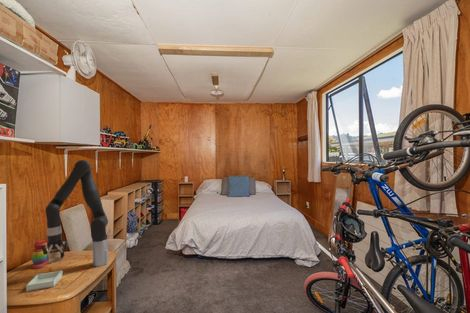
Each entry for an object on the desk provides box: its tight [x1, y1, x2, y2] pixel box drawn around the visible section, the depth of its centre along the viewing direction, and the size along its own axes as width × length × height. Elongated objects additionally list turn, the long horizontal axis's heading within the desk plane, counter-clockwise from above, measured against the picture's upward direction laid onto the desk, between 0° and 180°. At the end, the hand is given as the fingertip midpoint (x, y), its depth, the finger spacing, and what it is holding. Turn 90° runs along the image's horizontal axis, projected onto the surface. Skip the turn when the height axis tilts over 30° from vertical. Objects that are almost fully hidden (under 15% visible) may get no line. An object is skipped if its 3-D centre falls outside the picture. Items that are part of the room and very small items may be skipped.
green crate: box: [25, 269, 64, 293], centre depth 136 cm, size 13×13×4 cm
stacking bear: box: [31, 238, 52, 270], centre depth 160 cm, size 11×10×18 cm
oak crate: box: [48, 249, 64, 264], centre depth 148 cm, size 6×6×6 cm
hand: (56, 258), depth 148 cm, fingers closed on oak crate, 6 cm apart
